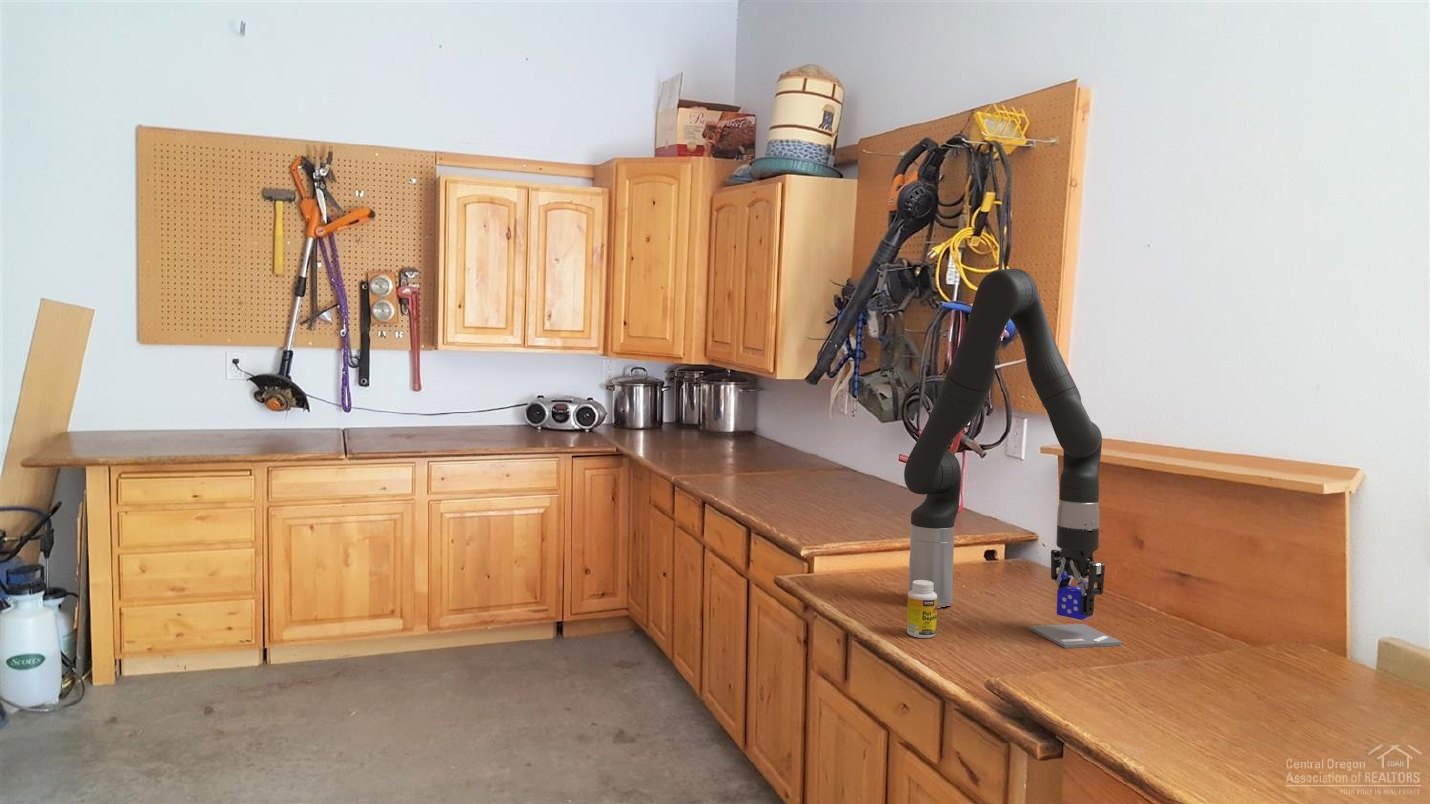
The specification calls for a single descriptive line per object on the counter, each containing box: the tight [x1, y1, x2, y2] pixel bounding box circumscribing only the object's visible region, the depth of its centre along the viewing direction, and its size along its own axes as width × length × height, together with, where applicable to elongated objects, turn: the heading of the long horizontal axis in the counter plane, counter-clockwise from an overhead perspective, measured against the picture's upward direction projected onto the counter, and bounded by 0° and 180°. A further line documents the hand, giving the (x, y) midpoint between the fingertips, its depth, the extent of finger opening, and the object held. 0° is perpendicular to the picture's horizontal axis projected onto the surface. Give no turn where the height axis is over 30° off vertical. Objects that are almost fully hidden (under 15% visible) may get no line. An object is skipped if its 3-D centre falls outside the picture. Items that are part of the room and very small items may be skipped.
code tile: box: [1028, 623, 1123, 649], centre depth 174 cm, size 12×12×1 cm
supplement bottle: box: [906, 580, 938, 639], centre depth 174 cm, size 6×6×10 cm
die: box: [1056, 584, 1093, 621], centre depth 174 cm, size 5×5×5 cm
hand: (1075, 609), depth 174 cm, fingers closed on die, 6 cm apart
